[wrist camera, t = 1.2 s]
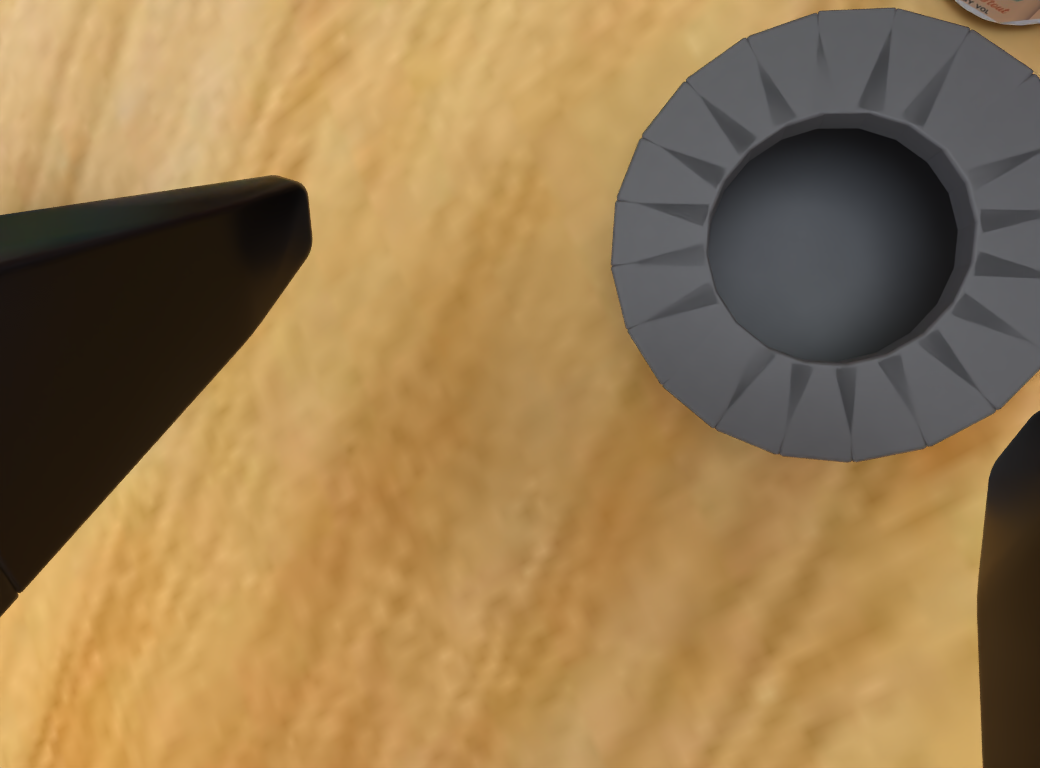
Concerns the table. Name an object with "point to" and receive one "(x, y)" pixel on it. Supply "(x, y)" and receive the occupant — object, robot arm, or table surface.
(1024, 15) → the grey capped bottle
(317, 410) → the table surface
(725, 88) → the grey pot
